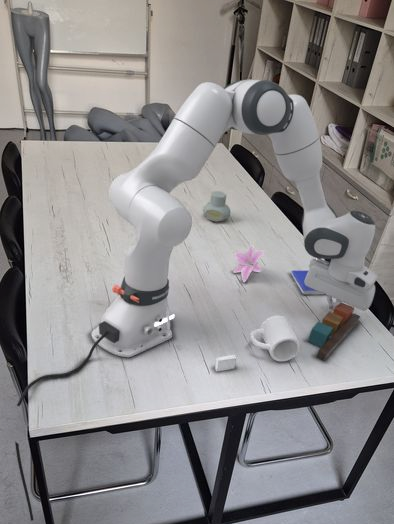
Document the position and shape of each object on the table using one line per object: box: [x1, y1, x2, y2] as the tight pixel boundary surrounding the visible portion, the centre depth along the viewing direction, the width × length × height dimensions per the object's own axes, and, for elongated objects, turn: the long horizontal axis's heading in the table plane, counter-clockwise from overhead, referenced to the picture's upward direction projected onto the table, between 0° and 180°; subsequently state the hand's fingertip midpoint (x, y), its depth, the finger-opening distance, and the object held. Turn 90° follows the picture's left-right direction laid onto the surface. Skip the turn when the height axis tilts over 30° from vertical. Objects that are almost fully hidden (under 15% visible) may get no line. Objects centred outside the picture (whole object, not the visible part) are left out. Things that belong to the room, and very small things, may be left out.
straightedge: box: [316, 312, 361, 362], centre depth 138 cm, size 24×2×2 cm, turn 143°
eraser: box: [214, 354, 237, 372], centre depth 123 cm, size 1×5×4 cm, turn 110°
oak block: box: [321, 311, 343, 337], centre depth 140 cm, size 4×4×4 cm
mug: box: [249, 315, 301, 362], centre depth 129 cm, size 12×10×8 cm
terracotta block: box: [332, 302, 355, 325], centre depth 145 cm, size 4×4×4 cm
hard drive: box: [290, 270, 325, 295], centre depth 160 cm, size 2×8×12 cm
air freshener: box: [202, 190, 232, 223], centre depth 190 cm, size 11×8×10 cm
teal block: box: [307, 321, 333, 348], centre depth 136 cm, size 4×4×4 cm
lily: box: [233, 243, 266, 284], centre depth 159 cm, size 12×12×10 cm
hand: (331, 308), depth 146 cm, fingers closed
